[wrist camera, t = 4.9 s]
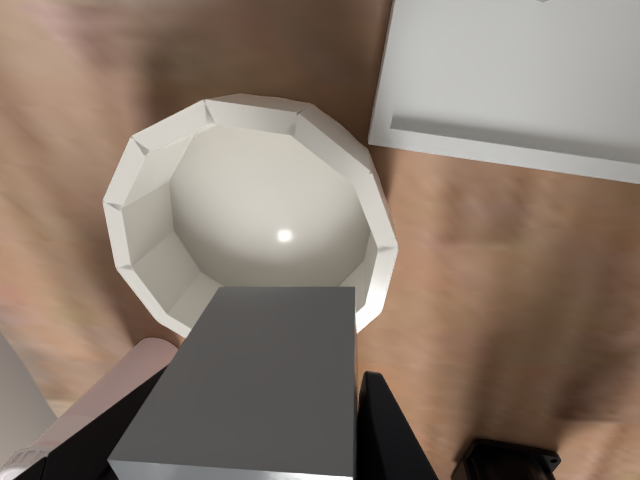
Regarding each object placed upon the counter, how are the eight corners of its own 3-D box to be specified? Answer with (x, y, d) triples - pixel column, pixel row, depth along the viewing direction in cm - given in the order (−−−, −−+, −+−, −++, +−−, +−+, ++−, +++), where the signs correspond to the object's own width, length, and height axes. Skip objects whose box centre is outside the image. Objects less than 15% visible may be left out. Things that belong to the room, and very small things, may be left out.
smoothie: (166, 312, 23) (-60, 596, 10) (217, 374, 25) (80, 665, 13) (101, 337, 25) (-158, 603, 12) (154, 392, 27) (-19, 663, 15)
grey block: (358, 385, 10) (358, 590, 6) (243, 381, 10) (173, 568, 6) (355, 286, 8) (352, 476, 4) (219, 286, 9) (107, 460, 5)
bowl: (410, 115, 16) (430, 131, 11) (362, 319, 21) (363, 380, 17) (153, 78, 16) (78, 81, 12) (174, 288, 22) (129, 340, 18)
